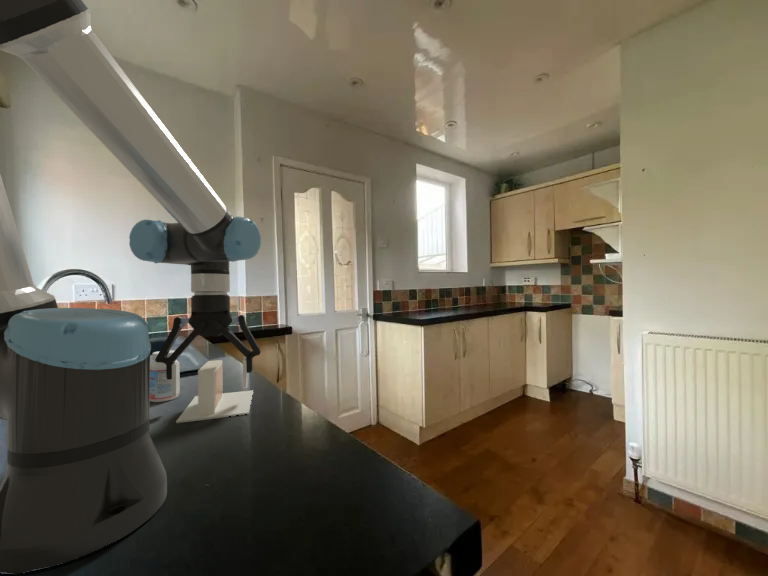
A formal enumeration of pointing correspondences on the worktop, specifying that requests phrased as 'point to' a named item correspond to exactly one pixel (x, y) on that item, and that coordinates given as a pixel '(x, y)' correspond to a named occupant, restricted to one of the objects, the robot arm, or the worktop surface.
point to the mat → (220, 407)
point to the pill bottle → (160, 381)
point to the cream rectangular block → (210, 387)
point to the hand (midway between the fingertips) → (211, 390)
